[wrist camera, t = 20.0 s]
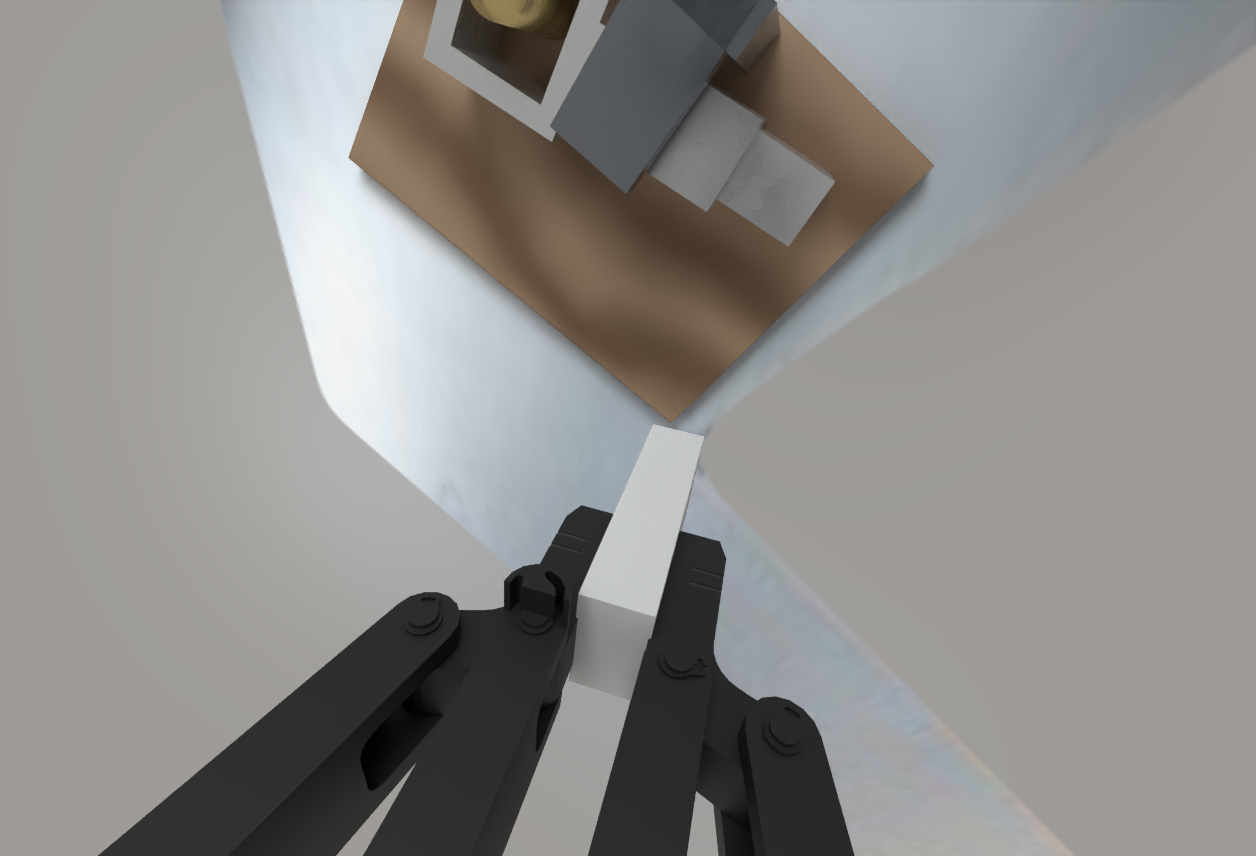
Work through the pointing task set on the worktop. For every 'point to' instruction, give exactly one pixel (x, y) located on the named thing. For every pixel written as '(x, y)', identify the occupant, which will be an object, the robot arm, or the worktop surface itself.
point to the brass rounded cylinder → (531, 15)
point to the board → (629, 206)
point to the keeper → (656, 76)
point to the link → (692, 157)
